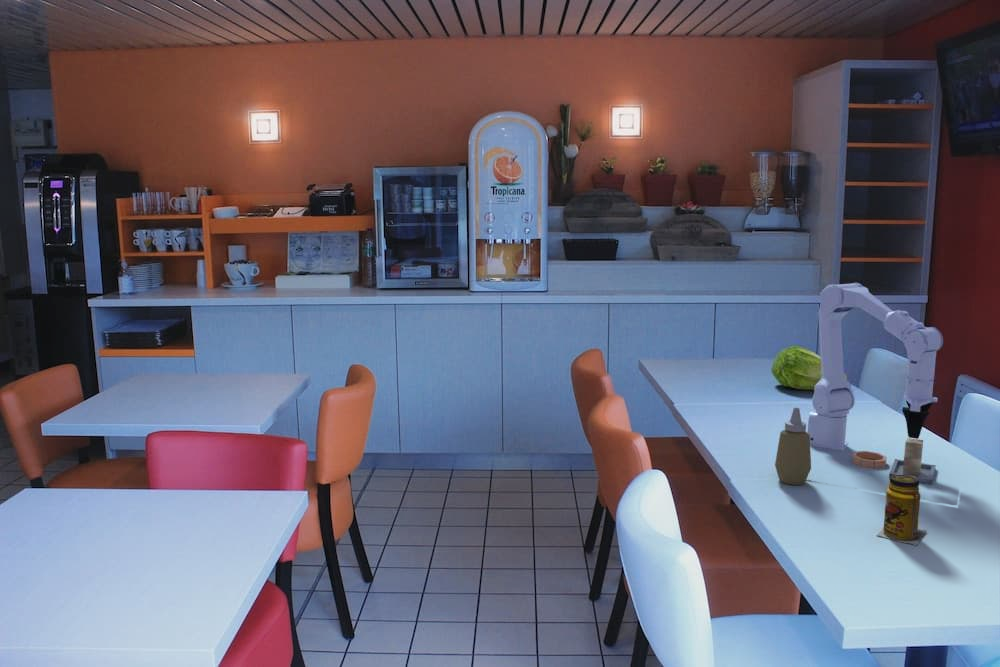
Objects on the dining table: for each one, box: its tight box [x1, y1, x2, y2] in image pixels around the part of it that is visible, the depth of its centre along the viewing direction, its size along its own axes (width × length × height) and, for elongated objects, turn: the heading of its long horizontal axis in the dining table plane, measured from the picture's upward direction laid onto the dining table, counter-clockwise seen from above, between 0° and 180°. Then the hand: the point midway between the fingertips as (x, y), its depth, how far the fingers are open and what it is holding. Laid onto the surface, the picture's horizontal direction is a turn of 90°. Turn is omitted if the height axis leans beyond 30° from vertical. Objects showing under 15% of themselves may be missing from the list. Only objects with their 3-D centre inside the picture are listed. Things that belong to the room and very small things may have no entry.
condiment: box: [876, 475, 928, 546], centre depth 158 cm, size 7×8×12 cm
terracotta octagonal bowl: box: [851, 450, 887, 469], centre depth 200 cm, size 8×8×2 cm
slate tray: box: [888, 458, 937, 486], centre depth 192 cm, size 9×12×2 cm
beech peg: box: [903, 437, 924, 476], centre depth 191 cm, size 4×4×8 cm
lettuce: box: [771, 345, 848, 391], centre depth 276 cm, size 15×24×16 cm
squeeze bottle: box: [774, 407, 812, 486], centre depth 187 cm, size 8×8×18 cm
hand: (914, 433), depth 191 cm, fingers open, 7 cm apart
